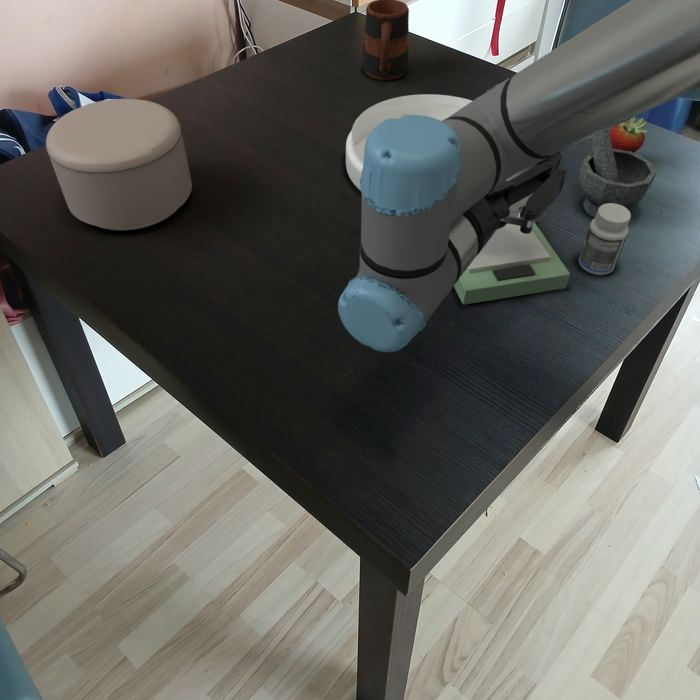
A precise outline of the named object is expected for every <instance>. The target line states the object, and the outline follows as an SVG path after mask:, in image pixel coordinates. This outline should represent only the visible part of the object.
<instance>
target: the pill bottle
mask: <svg viewBox="0 0 700 700" xmlns="http://www.w3.org/2000/svg"><path fill="white" fill-rule="evenodd" d="M631 217H632V213H631V211H630V209H629V208H628V209H627V208H625V207H624V206H622V205H619V204H614V203H608V204H603V205H601V206H600V207H599V209H598V211H597V214H596V217H593V219H592V220H591V222H590V223H589V226H588V229H587V232H586V236H585V239H584V242H583V244H582V248H581V251H580V253H579V257H578V263H579V265H580V267H581V268H582V269H583V270H584V271H586V272H588V273H590V274H591V275H597V276H605V275H608V274H610V273H612V272H613V271H614V270H615V268H616V266H617V264H618V261H619V258H620V255H621V253H622V251H623V247H624V246H625V242H626V240H627V237H628V235H629V227H628V226H629V224H630V221H631Z"/></svg>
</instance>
